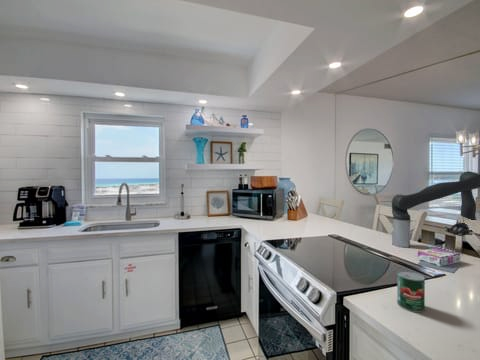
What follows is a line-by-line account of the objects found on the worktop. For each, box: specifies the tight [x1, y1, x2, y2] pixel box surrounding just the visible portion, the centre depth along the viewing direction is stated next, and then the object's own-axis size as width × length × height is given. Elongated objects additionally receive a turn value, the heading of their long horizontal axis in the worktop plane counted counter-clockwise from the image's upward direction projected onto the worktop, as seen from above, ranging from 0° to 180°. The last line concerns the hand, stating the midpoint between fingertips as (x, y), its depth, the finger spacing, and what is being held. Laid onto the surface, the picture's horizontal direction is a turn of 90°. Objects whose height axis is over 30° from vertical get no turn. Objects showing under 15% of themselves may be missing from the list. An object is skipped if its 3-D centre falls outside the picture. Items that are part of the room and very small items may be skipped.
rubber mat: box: [417, 260, 462, 274], centre depth 123 cm, size 14×18×1 cm
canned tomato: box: [396, 270, 426, 313], centre depth 83 cm, size 8×8×11 cm
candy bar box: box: [417, 247, 461, 266], centre depth 126 cm, size 11×5×16 cm
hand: (454, 233), depth 136 cm, fingers closed
